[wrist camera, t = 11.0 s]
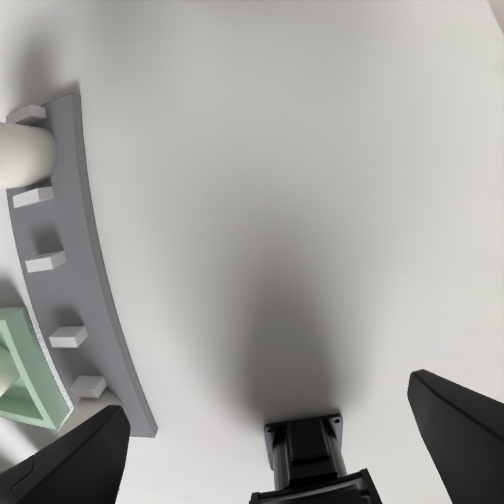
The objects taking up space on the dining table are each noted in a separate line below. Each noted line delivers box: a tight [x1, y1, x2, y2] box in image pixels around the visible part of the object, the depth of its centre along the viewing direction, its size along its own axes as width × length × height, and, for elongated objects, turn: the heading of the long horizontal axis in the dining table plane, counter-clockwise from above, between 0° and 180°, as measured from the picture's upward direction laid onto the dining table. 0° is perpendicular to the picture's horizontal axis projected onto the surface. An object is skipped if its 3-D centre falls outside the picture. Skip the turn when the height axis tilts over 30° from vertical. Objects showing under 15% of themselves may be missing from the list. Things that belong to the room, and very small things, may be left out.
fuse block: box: [0, 93, 158, 444], centre depth 17 cm, size 27×7×8 cm, turn 7°
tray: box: [0, 306, 70, 430], centre depth 21 cm, size 11×11×3 cm
